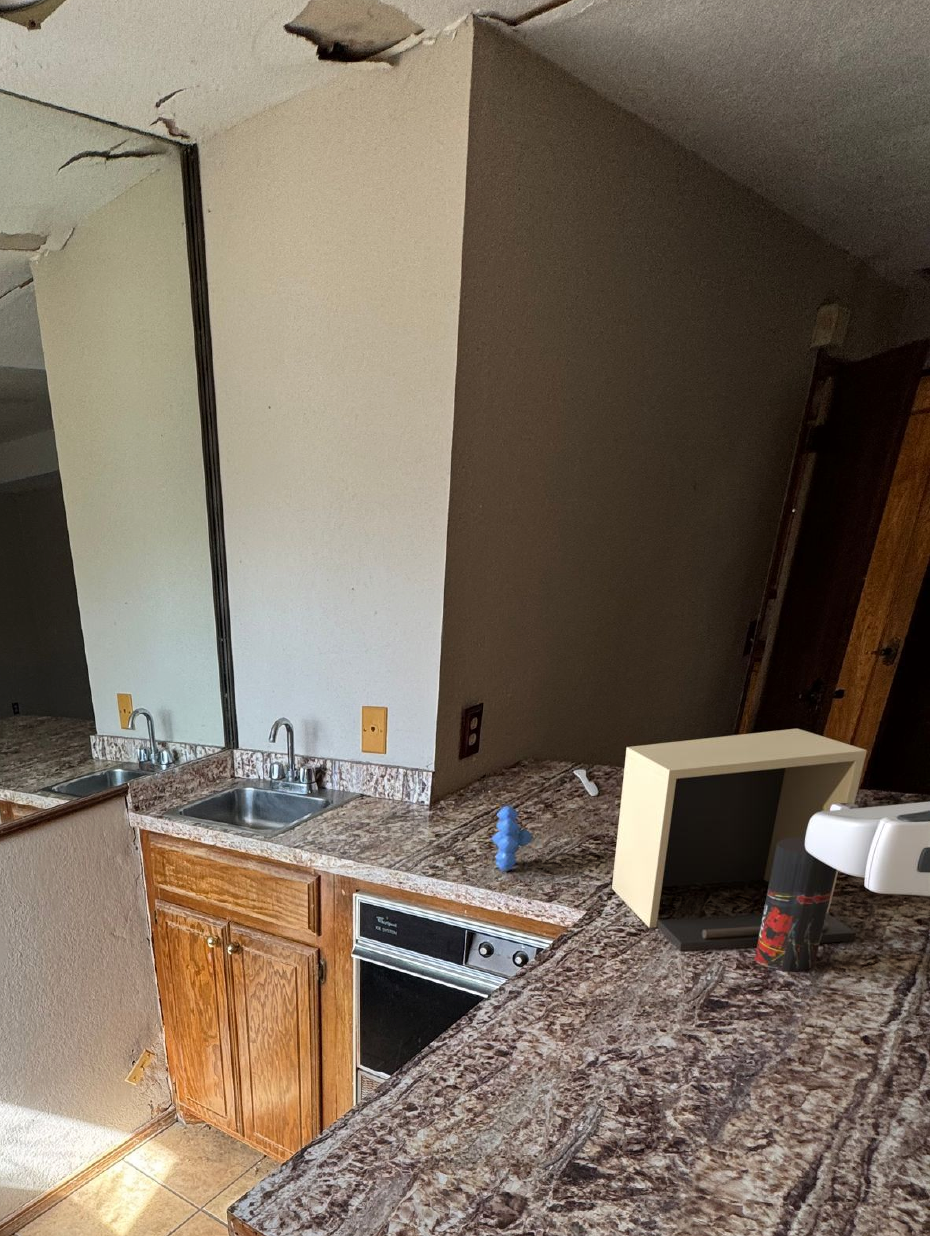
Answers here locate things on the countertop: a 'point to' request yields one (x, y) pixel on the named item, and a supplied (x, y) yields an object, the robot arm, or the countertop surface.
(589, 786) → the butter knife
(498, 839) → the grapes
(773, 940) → the deodorant
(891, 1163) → the countertop surface
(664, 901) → the countertop surface
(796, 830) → the cream cabinet
